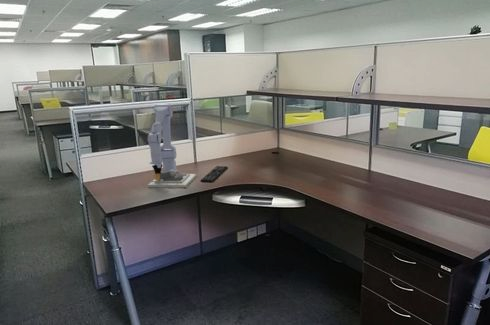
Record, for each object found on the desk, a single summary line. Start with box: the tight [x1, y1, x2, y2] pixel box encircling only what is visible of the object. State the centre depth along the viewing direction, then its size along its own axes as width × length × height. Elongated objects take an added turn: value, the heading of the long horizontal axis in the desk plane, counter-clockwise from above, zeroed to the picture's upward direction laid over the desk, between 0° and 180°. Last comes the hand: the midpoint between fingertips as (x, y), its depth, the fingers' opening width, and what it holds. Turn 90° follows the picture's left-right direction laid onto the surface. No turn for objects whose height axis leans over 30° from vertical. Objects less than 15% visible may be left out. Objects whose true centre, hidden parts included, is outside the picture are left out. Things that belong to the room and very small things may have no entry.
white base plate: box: [147, 173, 197, 188], centre depth 211 cm, size 22×22×2 cm
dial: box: [154, 170, 183, 181], centre depth 209 cm, size 16×12×5 cm
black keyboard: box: [200, 165, 229, 183], centre depth 223 cm, size 8×32×2 cm, turn 168°
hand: (158, 177), depth 207 cm, fingers closed, pressing on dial
